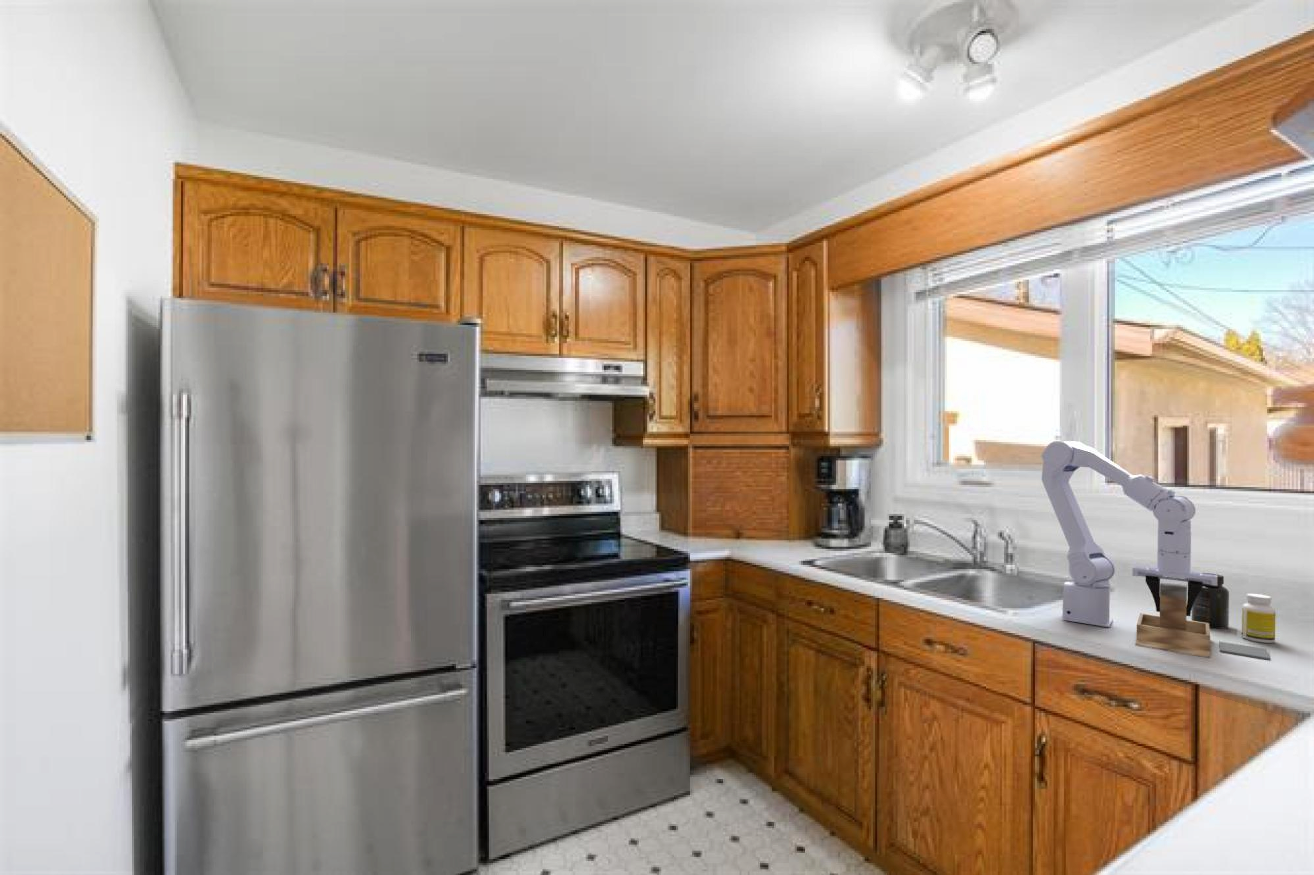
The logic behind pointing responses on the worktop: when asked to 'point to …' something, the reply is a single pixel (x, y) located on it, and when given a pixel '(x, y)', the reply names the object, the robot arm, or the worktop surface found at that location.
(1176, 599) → the block
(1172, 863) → the worktop surface
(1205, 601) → the supplement bottle
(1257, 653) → the pad
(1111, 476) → the robot arm
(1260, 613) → the supplement bottle
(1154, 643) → the wooden tray
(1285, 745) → the worktop surface
